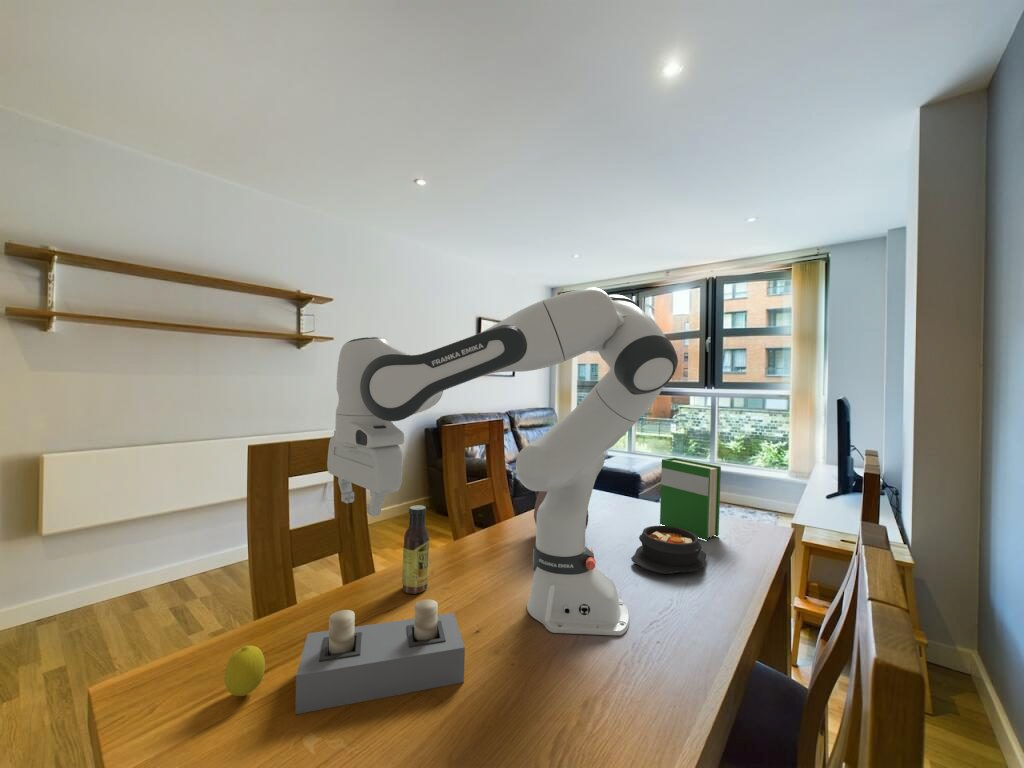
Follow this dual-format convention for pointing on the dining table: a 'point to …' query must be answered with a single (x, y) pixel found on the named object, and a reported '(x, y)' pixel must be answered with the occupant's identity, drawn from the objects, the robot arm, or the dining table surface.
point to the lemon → (244, 670)
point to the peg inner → (425, 620)
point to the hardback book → (690, 496)
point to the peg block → (378, 664)
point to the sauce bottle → (416, 552)
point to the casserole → (669, 550)
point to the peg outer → (341, 632)
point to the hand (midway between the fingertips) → (360, 508)
